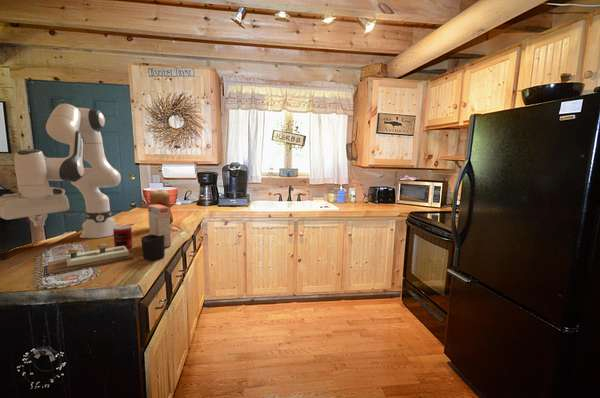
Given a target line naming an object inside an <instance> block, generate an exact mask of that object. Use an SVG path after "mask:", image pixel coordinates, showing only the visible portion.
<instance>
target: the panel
mask: <svg viewBox="0 0 600 398" xmlns="http://www.w3.org/2000/svg"><path fill="white" fill-rule="evenodd" d="M128 250H129V249H128ZM128 250H127V248H126V247H125V246H119V247H115V246H112V247H106V248H105V251H106V253H101V254H100V249H96V250H89V251H84V252H83V251H82V252H77V258H72V259H71V253H68V250H66V251H65V259H66V261H67V267H69V266H74V265H79V264H85V263H90V262H95V261H101V260H106V259H111V258H117V257H122V256H128V255H129V251H130V250H129V251H128Z"/></svg>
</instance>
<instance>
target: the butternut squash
mask: <svg viewBox="0 0 600 398" xmlns="http://www.w3.org/2000/svg"><path fill="white" fill-rule="evenodd" d="M170 195H171V194H170V193H169V191H168V190H165V189H156V190H153V191H152V192H150V195H149V205H155V204H160V205H163V206H166V207H169V211H170V225H172V223H173V222H174V217H173V213H172V210H171V206H172V204H171V199H170V198H171V196H170Z"/></svg>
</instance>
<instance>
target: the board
mask: <svg viewBox="0 0 600 398" xmlns="http://www.w3.org/2000/svg"><path fill="white" fill-rule="evenodd" d="M107 248H108V244H107V243H101V244H98V245H97V249H98V250H100V254H101V253H106V251H105V249H107ZM127 250H128V251H129V255H128V256H122V257H117V258H111V259H106V260H101V261H95V262H90V263H85V264H79V265H74V266H69V267H67V261H66V258H65V259H60V260H59V259H58V260H53V261H47V266H46V267H47V270H46V273H47V274H46V275H47V276H48V275H49V276H51V275H50V274H54V275H57V274H56V273H59V274H62V273H61V272H64V273H67V272H66V271H70V272H73V270H75V271H80V270H84V269H83V268H85V269H88V268H89V267H90V268H93V267H94V268H95V267H100V266H104V265H111V264H113V263H114V264H115V263H119V262H126V261H130V260H134V255H133V254H132V253H131V251H130V249H127ZM67 251H68V253H70V254H71V259H72V258H77V253H79V248H77V247H76V248H70V249H68V250H67ZM90 268H89V269H90ZM79 269H80V270H79Z"/></svg>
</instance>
